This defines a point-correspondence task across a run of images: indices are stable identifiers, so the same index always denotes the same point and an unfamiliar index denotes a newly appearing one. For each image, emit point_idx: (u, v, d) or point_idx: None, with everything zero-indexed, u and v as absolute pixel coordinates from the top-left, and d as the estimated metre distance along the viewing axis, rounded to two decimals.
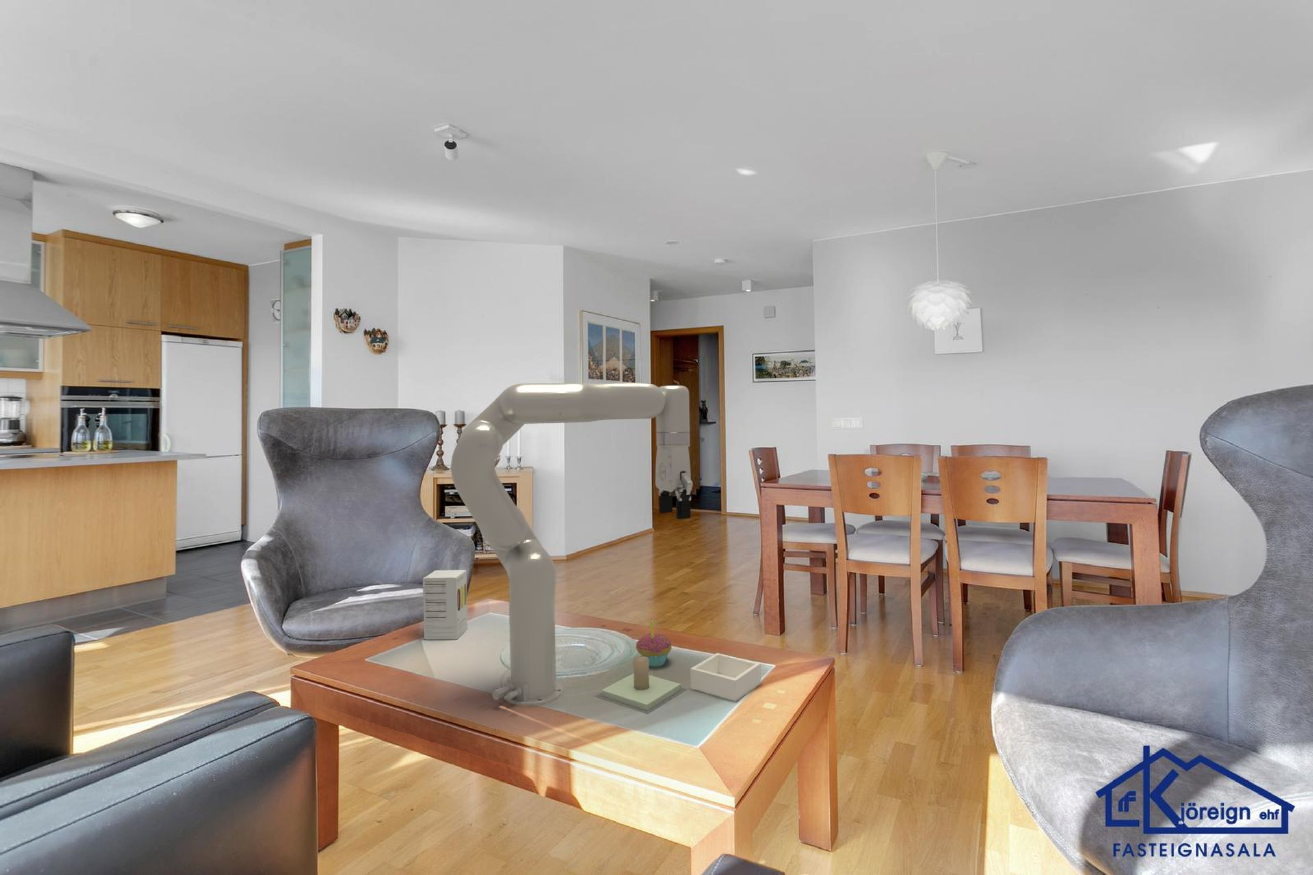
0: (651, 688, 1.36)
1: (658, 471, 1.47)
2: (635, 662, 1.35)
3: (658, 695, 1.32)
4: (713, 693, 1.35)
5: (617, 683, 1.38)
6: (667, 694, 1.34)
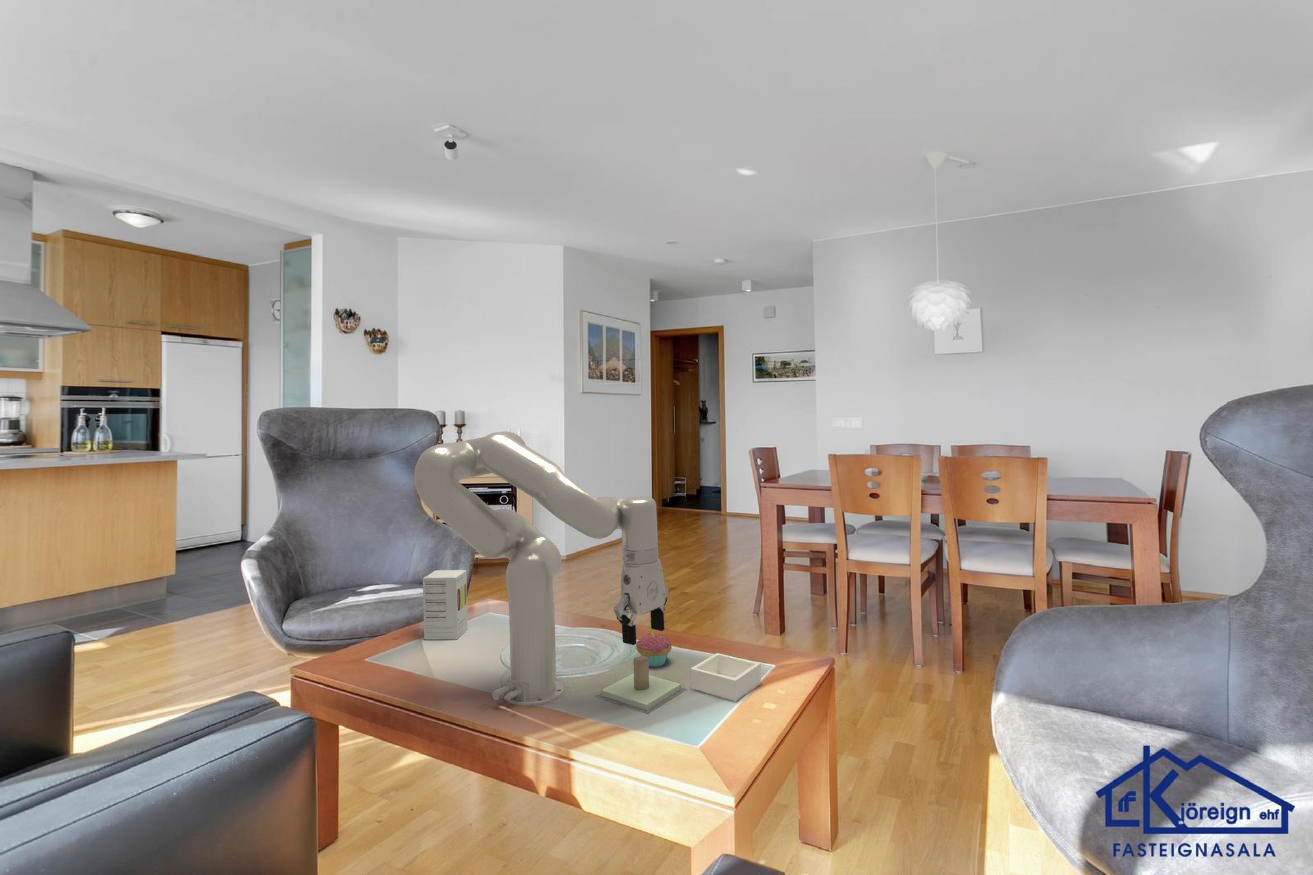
0: (651, 688, 1.36)
1: (645, 593, 1.32)
2: (635, 662, 1.35)
3: (658, 695, 1.32)
4: (713, 693, 1.35)
5: (617, 683, 1.38)
6: (667, 694, 1.34)
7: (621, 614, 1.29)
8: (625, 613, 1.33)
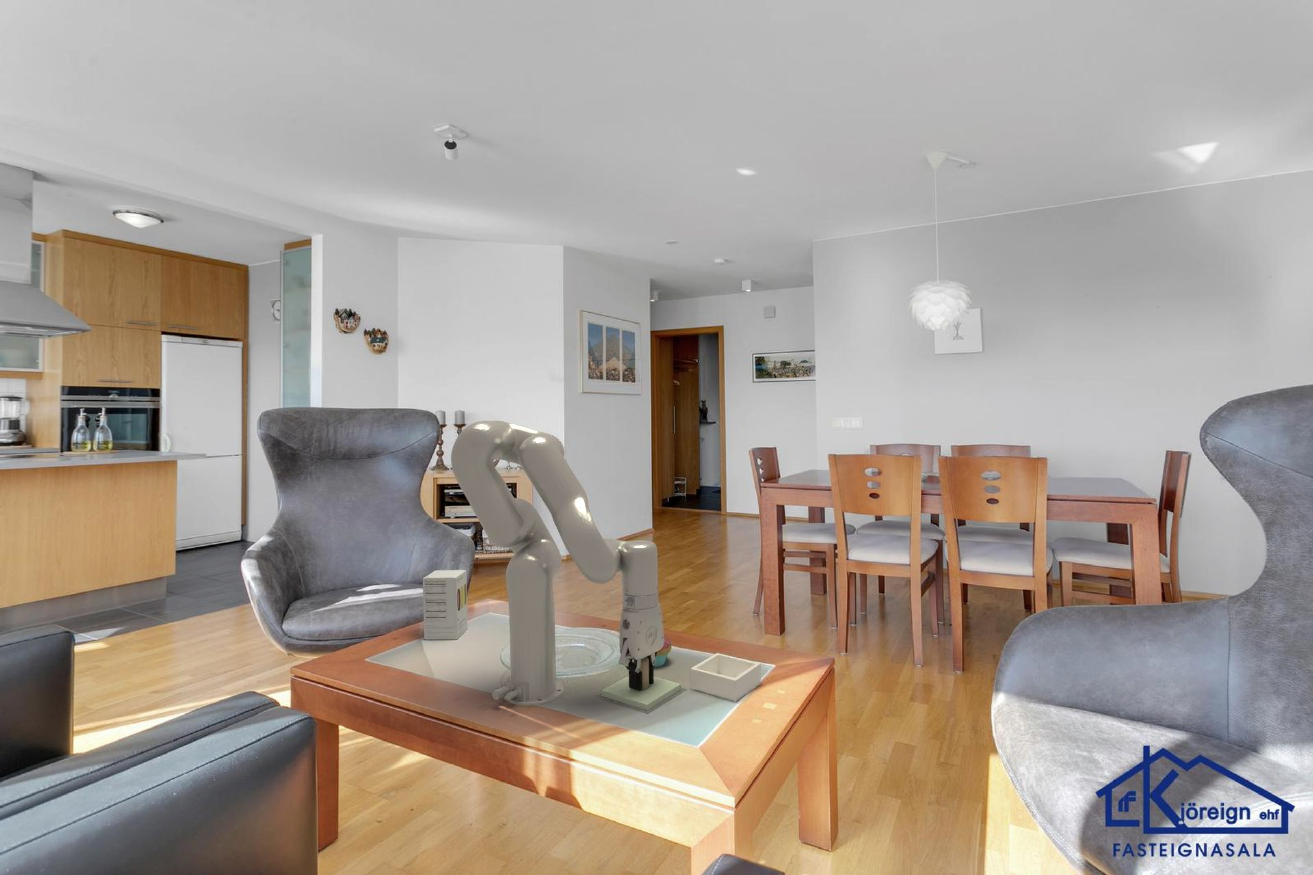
0: (651, 688, 1.36)
1: (644, 638, 1.33)
2: None
3: (658, 695, 1.32)
4: (713, 693, 1.35)
5: (617, 683, 1.38)
6: (667, 694, 1.34)
7: (628, 661, 1.32)
8: (629, 659, 1.35)
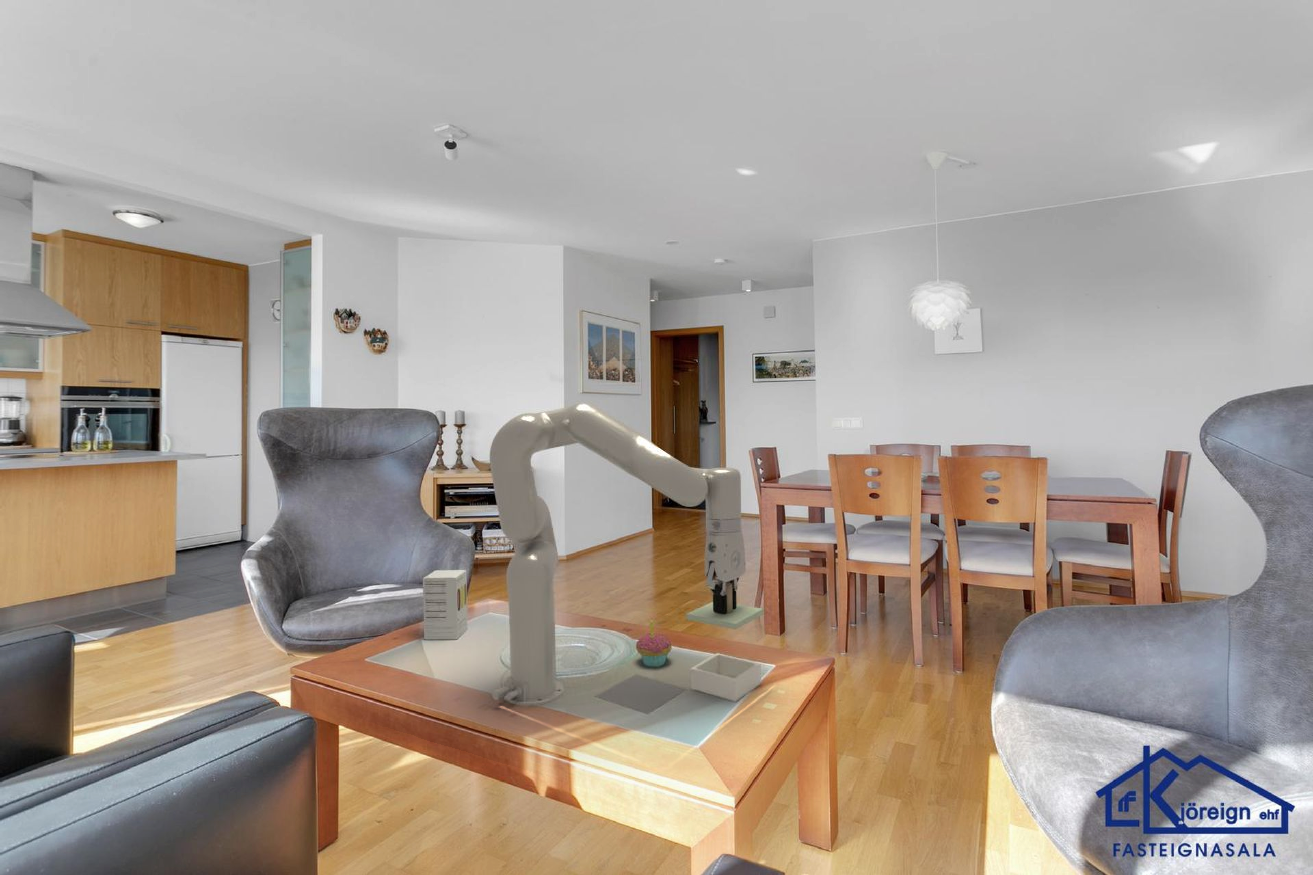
0: (735, 612, 1.38)
1: (730, 562, 1.35)
2: None
3: (744, 617, 1.34)
4: (713, 693, 1.35)
5: (700, 609, 1.41)
6: (752, 617, 1.36)
7: (715, 584, 1.34)
8: None
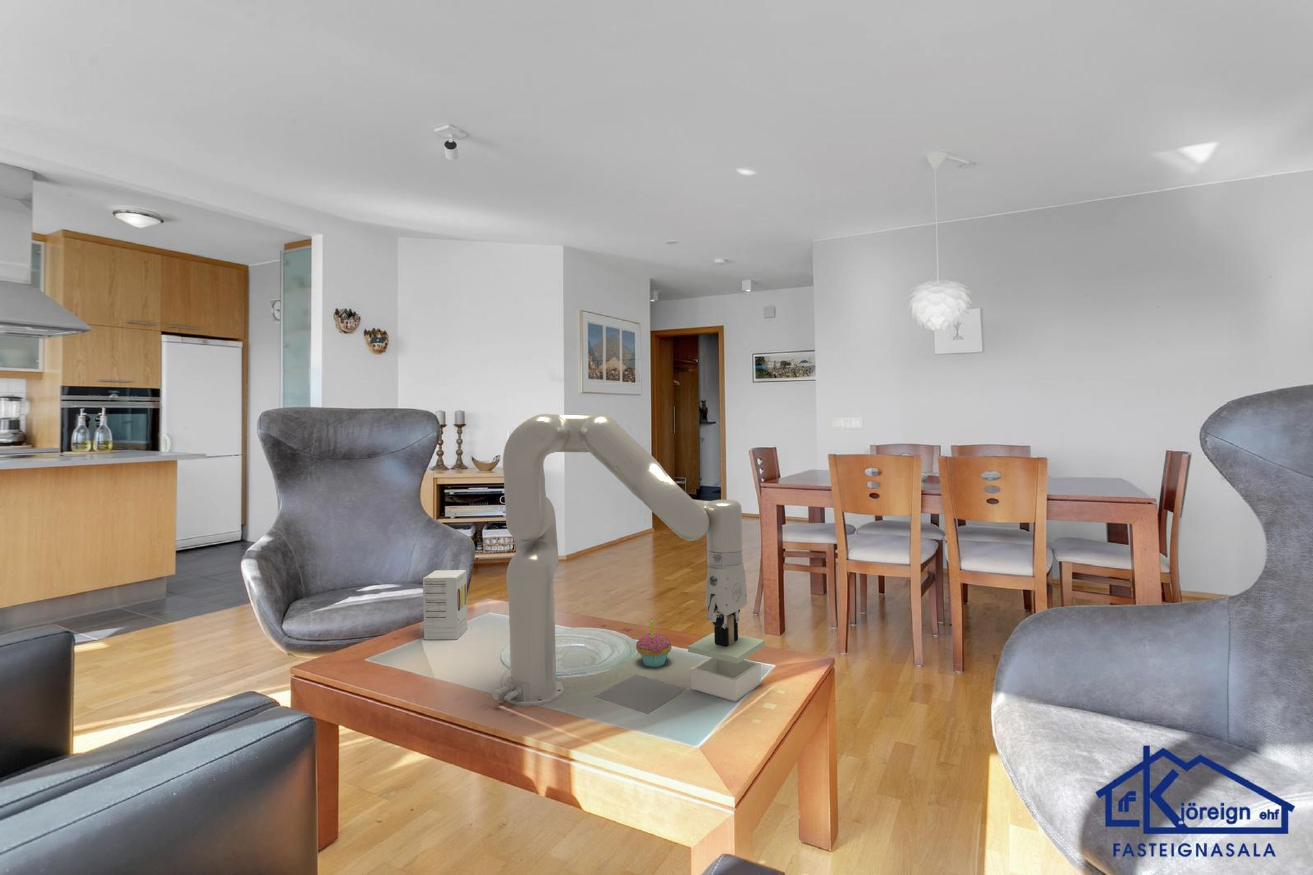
0: (737, 644, 1.38)
1: (731, 595, 1.35)
2: (721, 618, 1.38)
3: (745, 650, 1.34)
4: (713, 693, 1.35)
5: (701, 640, 1.41)
6: (753, 649, 1.36)
7: (716, 617, 1.34)
8: (715, 616, 1.37)
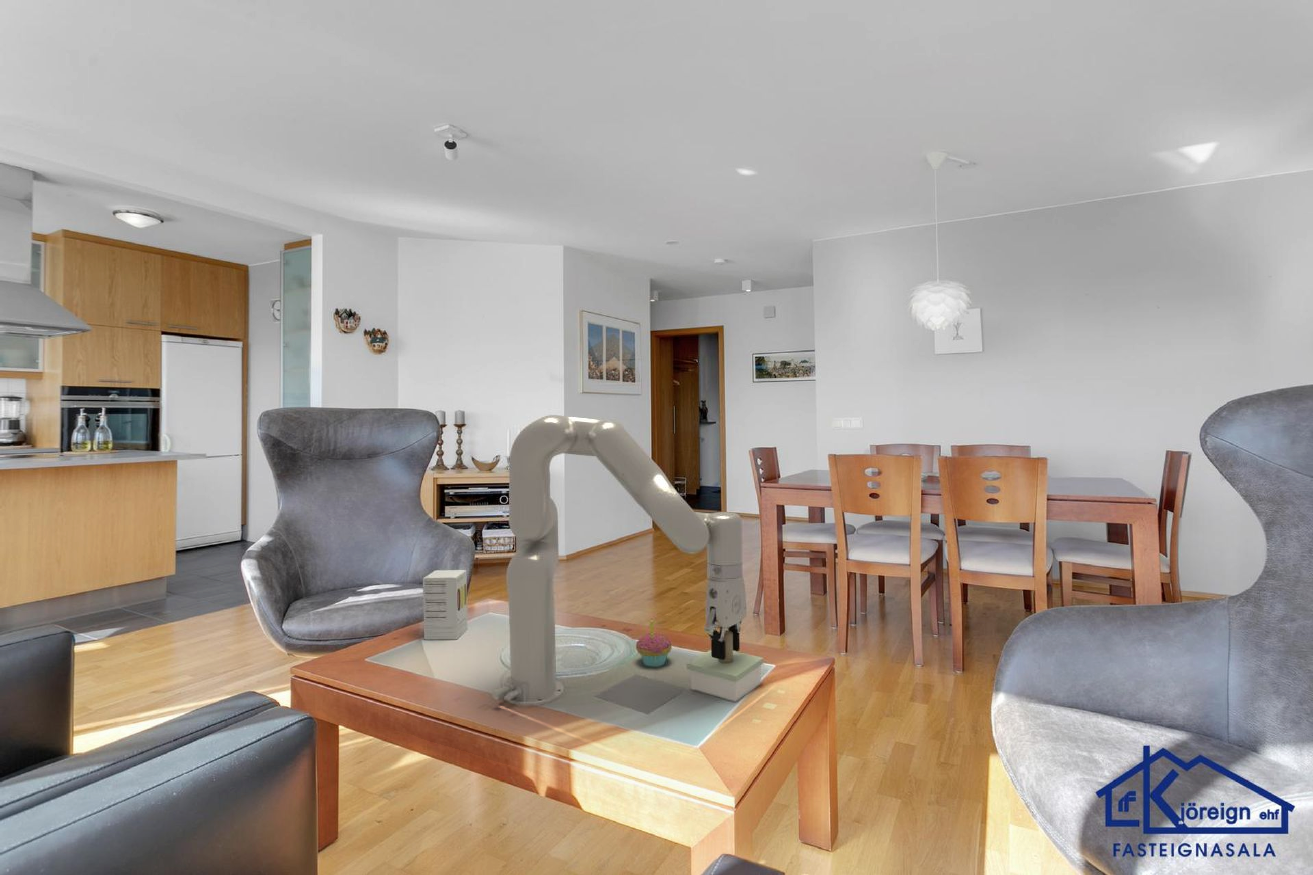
0: (736, 661, 1.38)
1: (731, 607, 1.35)
2: None
3: (744, 668, 1.35)
4: (713, 693, 1.35)
5: (700, 657, 1.41)
6: (752, 667, 1.36)
7: (713, 630, 1.34)
8: (713, 628, 1.36)
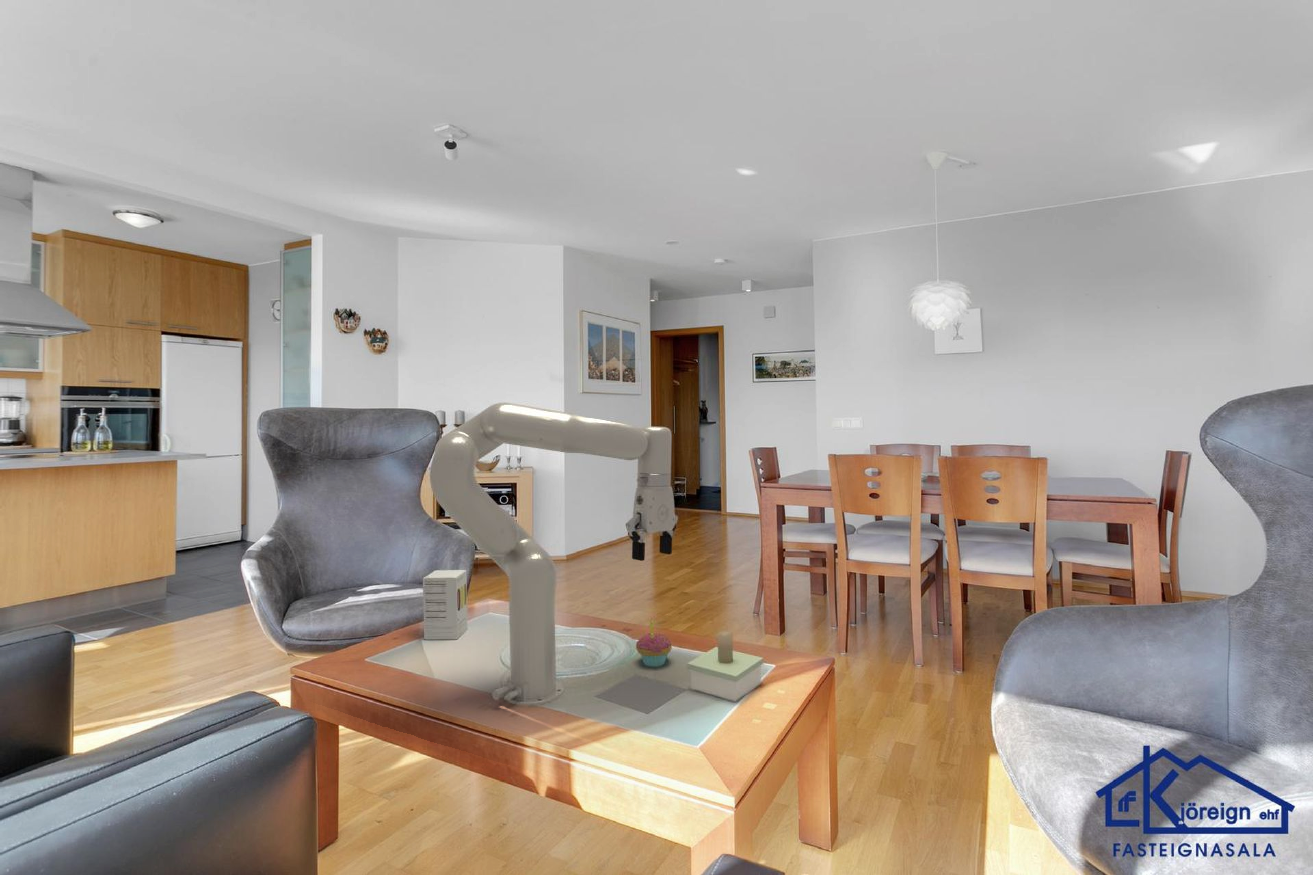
0: (736, 661, 1.38)
1: (656, 514, 1.42)
2: (720, 636, 1.38)
3: (744, 668, 1.35)
4: (713, 693, 1.35)
5: (700, 657, 1.41)
6: (752, 667, 1.36)
7: (632, 530, 1.39)
8: (636, 531, 1.43)
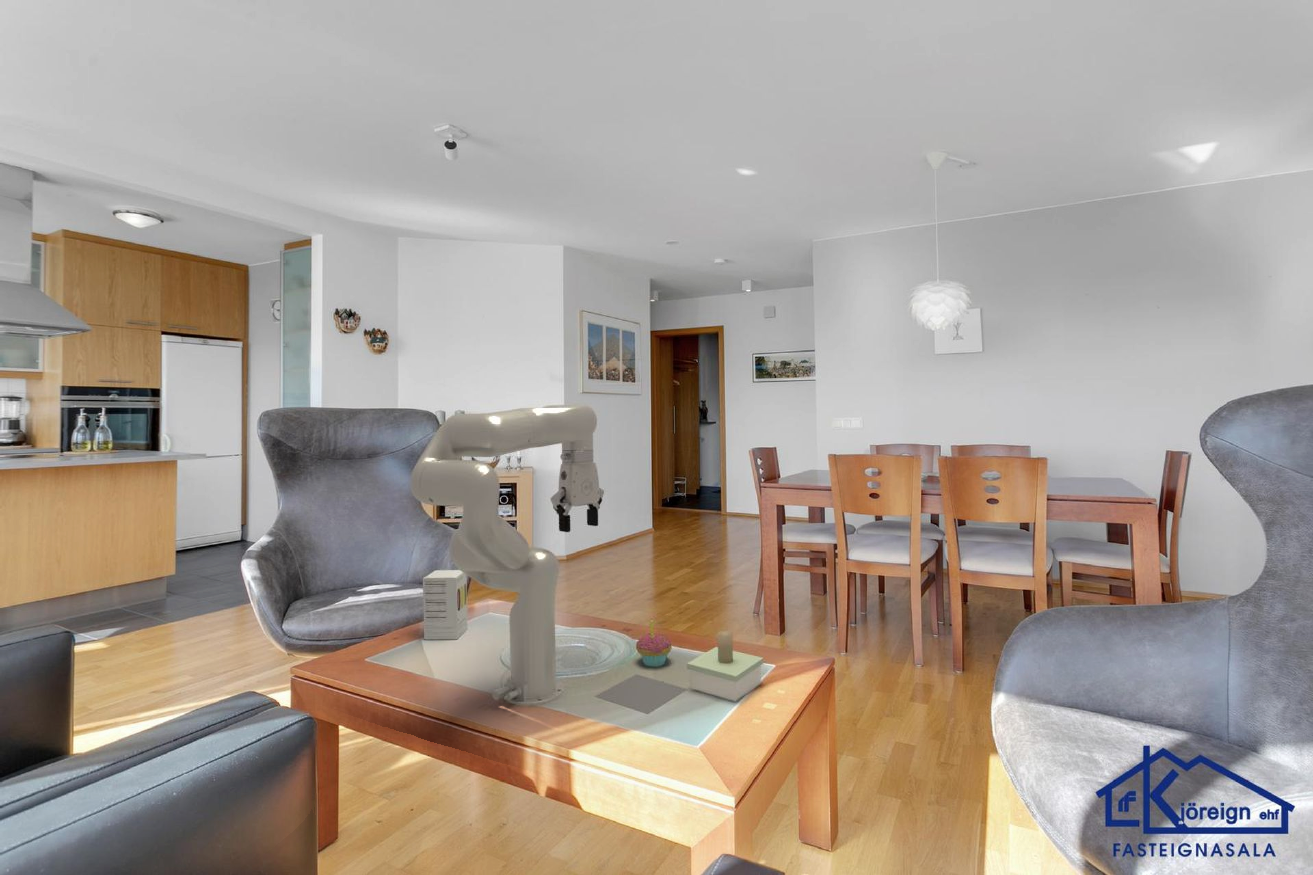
0: (736, 661, 1.38)
1: (580, 488, 1.52)
2: (720, 636, 1.38)
3: (744, 668, 1.35)
4: (713, 693, 1.35)
5: (700, 657, 1.41)
6: (752, 667, 1.36)
7: (557, 503, 1.49)
8: (562, 505, 1.52)
